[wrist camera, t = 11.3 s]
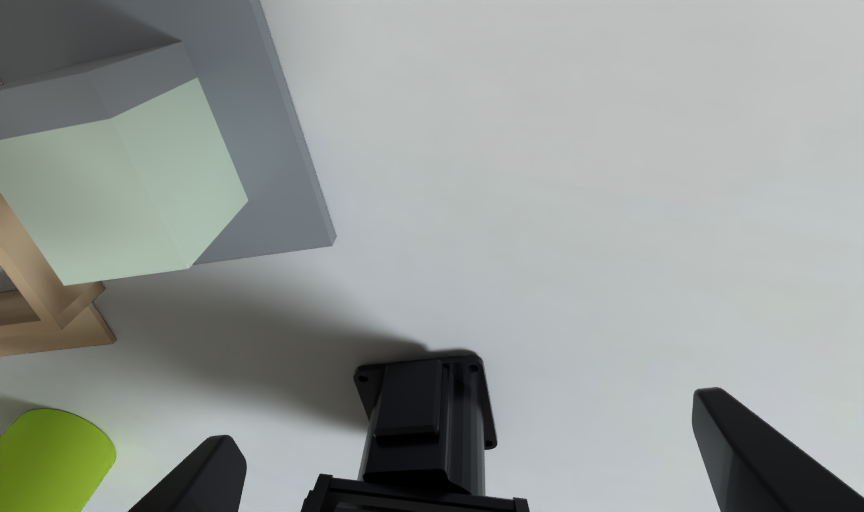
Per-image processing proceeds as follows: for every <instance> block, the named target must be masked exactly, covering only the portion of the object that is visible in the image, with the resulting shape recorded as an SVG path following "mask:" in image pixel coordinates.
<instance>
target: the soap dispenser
mask: <svg viewBox="0 0 864 512" xmlns="http://www.w3.org/2000/svg"><path fill="white" fill-rule="evenodd" d="M115 459H116V451H115V448H114V446H113V444H112V442H111V441H110V439H109V438H108V437H107V436H106V435H105V434H104V433H103V432H102V431H101V430H100V429H99V428H97V427H96V426H95V425H93V424H92V423H90V422H88V421H86V420H85V419H83V418H80V417H78V416H76V415H73V414H70V413H67V412H63V411H59V410H53V409H36V410H31V411H28V412H26V413H24V414H22V415H21V416H20V417H19V418H18V419H17V420H16V421H15V422H14V423H13V424H12V425H11V426H10V427H9V428H8V429H7V430H6V431H5V432H4V433H3V435H2V436H1V437H0V512H81V510H82V509H83V507H84V506H85V504H86V503H87V501H88V500H89V499H90V497H91V496H92V494H93V493H94V491H95V490H96V488H97V487H98V486H99V484H100V483H101V481H102V480H103V478H104V477H105V475H106V474H107V473H108V471H109V470H110V468H111V467H112V465H113V464H114V462H115Z"/></svg>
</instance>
